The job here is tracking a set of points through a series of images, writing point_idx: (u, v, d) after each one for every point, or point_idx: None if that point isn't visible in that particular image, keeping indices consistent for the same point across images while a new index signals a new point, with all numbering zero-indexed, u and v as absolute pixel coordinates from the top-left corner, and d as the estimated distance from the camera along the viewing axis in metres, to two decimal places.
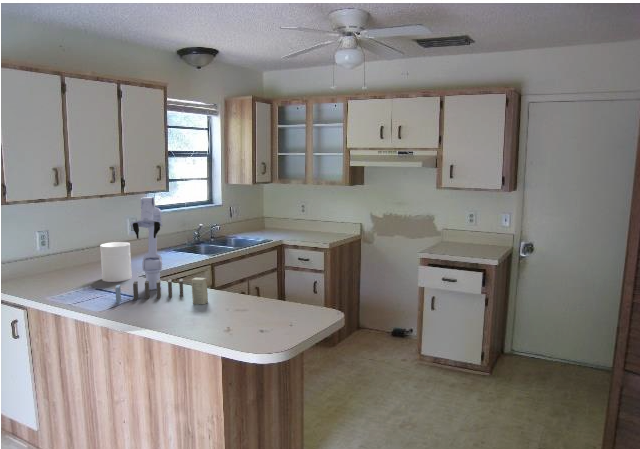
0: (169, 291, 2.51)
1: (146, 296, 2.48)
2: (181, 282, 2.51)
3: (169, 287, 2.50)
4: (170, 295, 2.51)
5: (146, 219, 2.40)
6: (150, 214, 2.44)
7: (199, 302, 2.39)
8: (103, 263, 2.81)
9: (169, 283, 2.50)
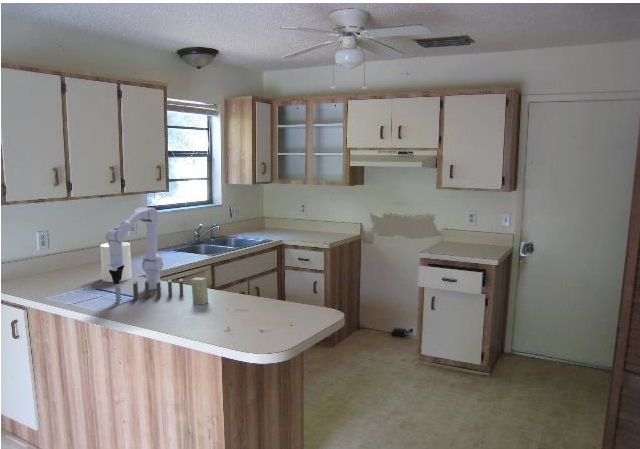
0: (169, 291, 2.51)
1: (146, 296, 2.48)
2: (181, 282, 2.51)
3: (169, 287, 2.50)
4: (170, 295, 2.51)
5: None
6: (110, 257, 2.37)
7: (199, 302, 2.39)
8: (103, 263, 2.81)
9: (169, 283, 2.50)
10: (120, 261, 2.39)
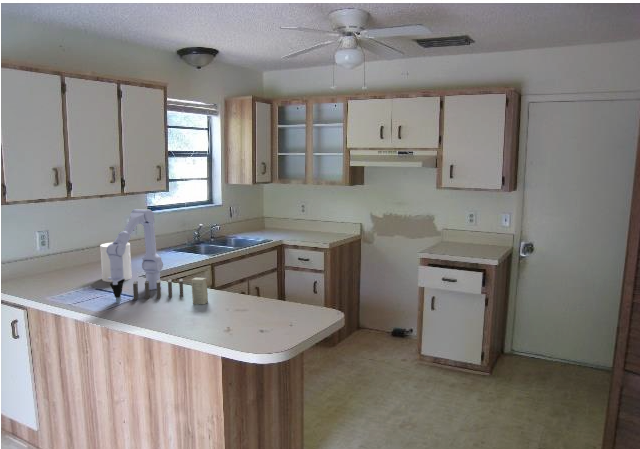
0: (169, 291, 2.51)
1: (146, 296, 2.48)
2: (181, 282, 2.51)
3: (169, 287, 2.50)
4: (170, 295, 2.51)
5: None
6: (111, 271, 2.38)
7: (199, 302, 2.39)
8: (103, 263, 2.81)
9: (169, 283, 2.50)
10: (121, 275, 2.40)
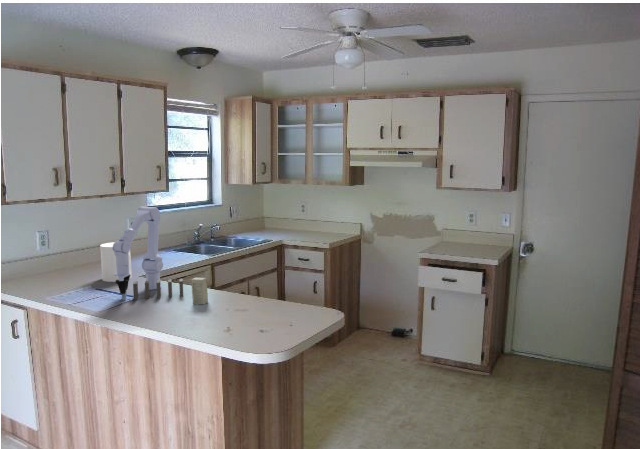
0: (169, 291, 2.51)
1: (146, 296, 2.48)
2: (181, 282, 2.51)
3: (169, 287, 2.50)
4: (170, 295, 2.51)
5: None
6: (117, 267, 2.43)
7: (199, 302, 2.39)
8: (103, 263, 2.81)
9: (169, 283, 2.50)
10: (127, 271, 2.45)
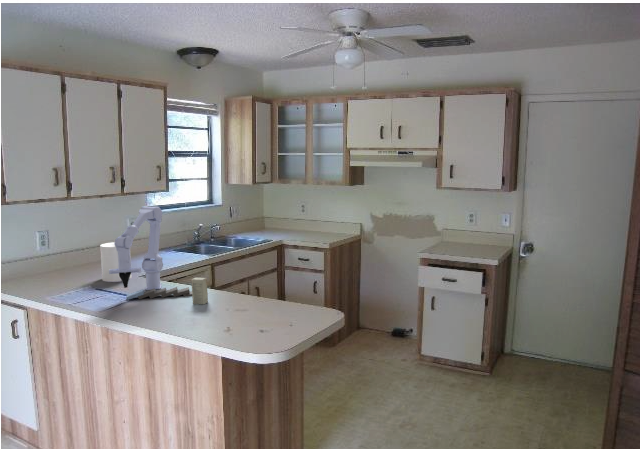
0: (179, 293, 2.52)
1: (152, 295, 2.49)
2: None
3: (183, 292, 2.53)
4: (175, 295, 2.52)
5: (124, 272, 2.43)
6: (127, 263, 2.44)
7: (199, 302, 2.39)
8: (103, 263, 2.81)
9: (187, 291, 2.53)
10: None
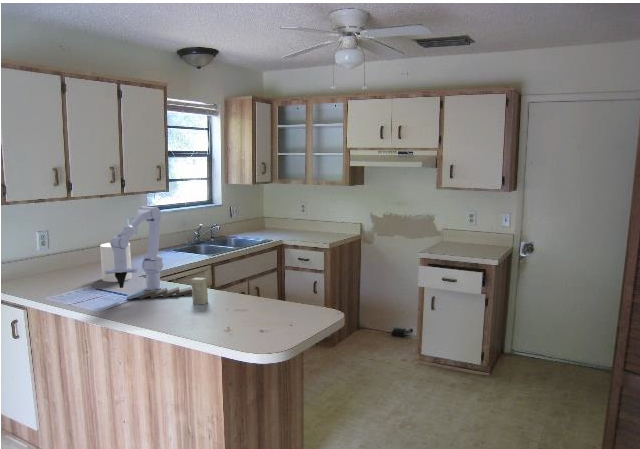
0: (182, 292, 2.53)
1: (152, 295, 2.49)
2: None
3: (186, 291, 2.54)
4: (178, 294, 2.52)
5: (120, 272, 2.43)
6: (123, 263, 2.44)
7: (199, 302, 2.39)
8: (103, 263, 2.81)
9: (190, 291, 2.54)
10: None
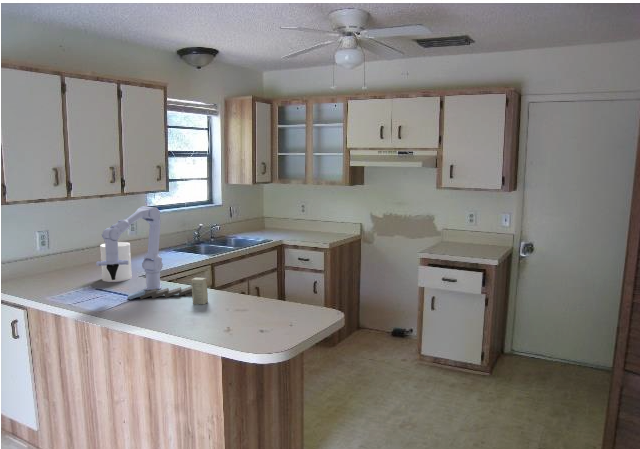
0: (185, 291, 2.53)
1: (154, 295, 2.49)
2: None
3: (189, 290, 2.54)
4: (181, 294, 2.53)
5: (112, 263, 2.41)
6: (115, 254, 2.42)
7: (199, 302, 2.39)
8: None
9: None
10: None
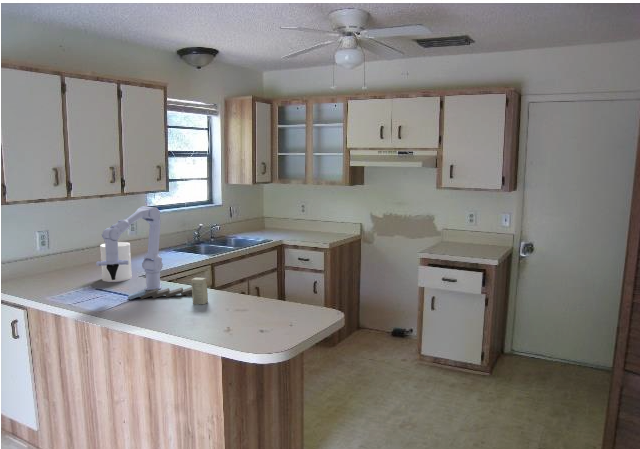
0: (187, 292, 2.53)
1: (154, 295, 2.49)
2: None
3: (191, 290, 2.53)
4: (183, 294, 2.53)
5: (112, 263, 2.41)
6: (115, 254, 2.42)
7: (199, 302, 2.39)
8: None
9: None
10: None
